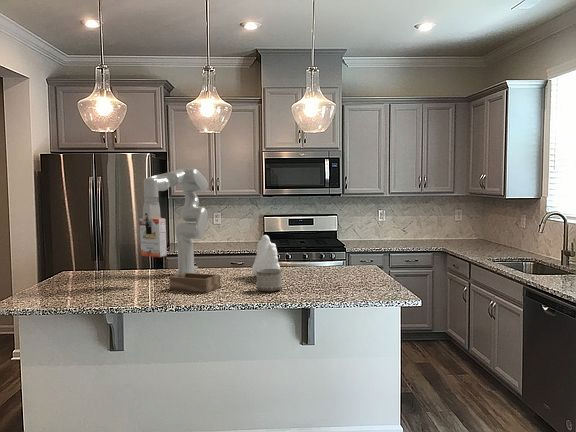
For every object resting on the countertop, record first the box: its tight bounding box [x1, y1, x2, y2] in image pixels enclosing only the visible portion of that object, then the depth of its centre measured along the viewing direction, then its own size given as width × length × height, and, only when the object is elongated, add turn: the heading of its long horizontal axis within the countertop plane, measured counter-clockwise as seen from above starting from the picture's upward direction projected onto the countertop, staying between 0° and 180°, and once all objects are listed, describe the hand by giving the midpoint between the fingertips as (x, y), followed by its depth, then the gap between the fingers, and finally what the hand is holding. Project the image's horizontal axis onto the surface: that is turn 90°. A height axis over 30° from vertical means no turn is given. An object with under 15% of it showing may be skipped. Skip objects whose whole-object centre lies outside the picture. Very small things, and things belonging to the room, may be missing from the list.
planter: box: [256, 268, 282, 293], centre depth 263 cm, size 13×13×10 cm
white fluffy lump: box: [251, 234, 281, 277], centre depth 295 cm, size 25×16×25 cm, turn 10°
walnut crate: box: [169, 272, 221, 294], centre depth 269 cm, size 14×22×7 cm, turn 67°
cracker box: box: [139, 217, 168, 258], centre depth 280 cm, size 14×6×21 cm, turn 62°
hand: (152, 233), depth 280 cm, fingers closed on cracker box, 6 cm apart
